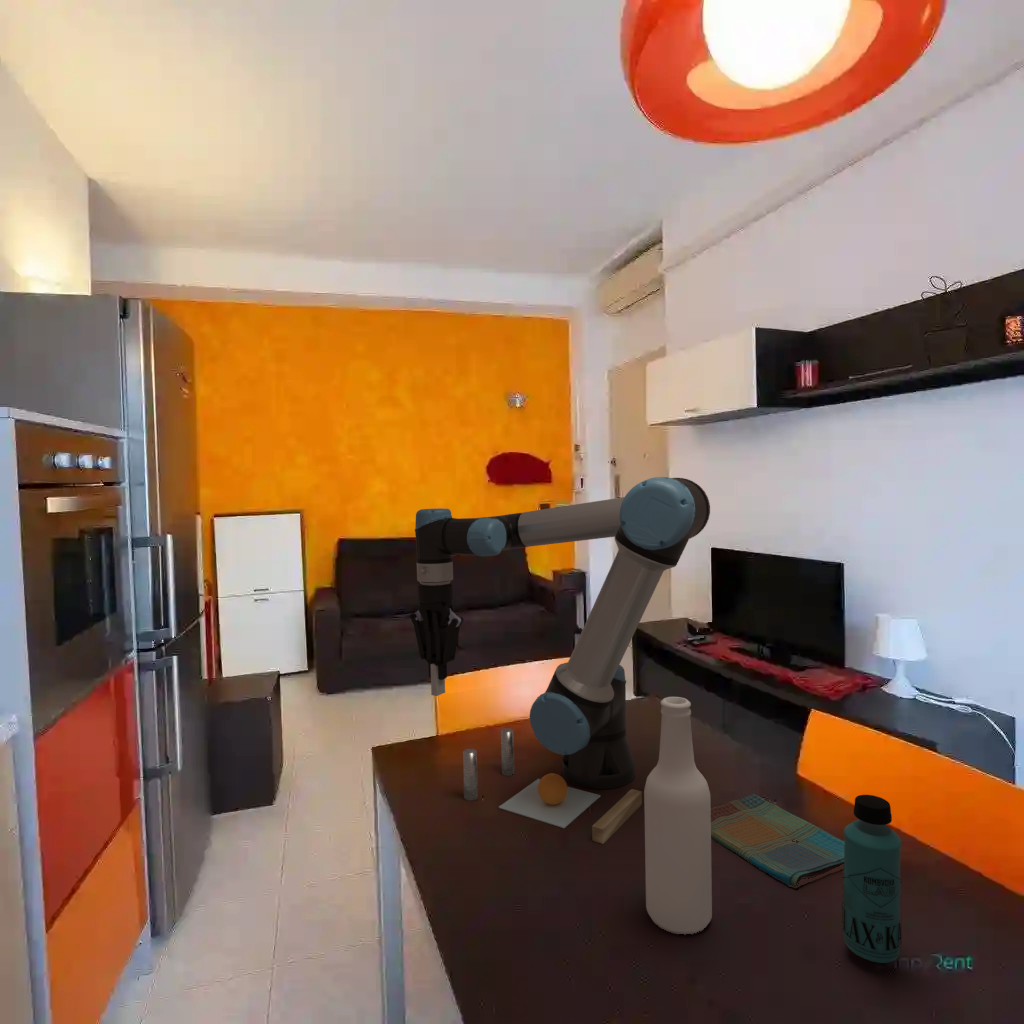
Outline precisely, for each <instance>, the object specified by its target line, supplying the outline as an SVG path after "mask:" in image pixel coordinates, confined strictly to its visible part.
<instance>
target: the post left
mask: <svg viewBox="0 0 1024 1024" xmlns="http://www.w3.org/2000/svg"><path fill="white" fill-rule="evenodd" d="M477 753H478V751H477V749H475V748H467V749H464V750H463V751H462V762H463V763H462V765H463V766H462V767H463V799H464V800H465V801H475V800H477V799H478V794H479V793H478V792H479V791H478V762H477V761H478V759H477V758H478V757H477Z"/></svg>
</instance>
